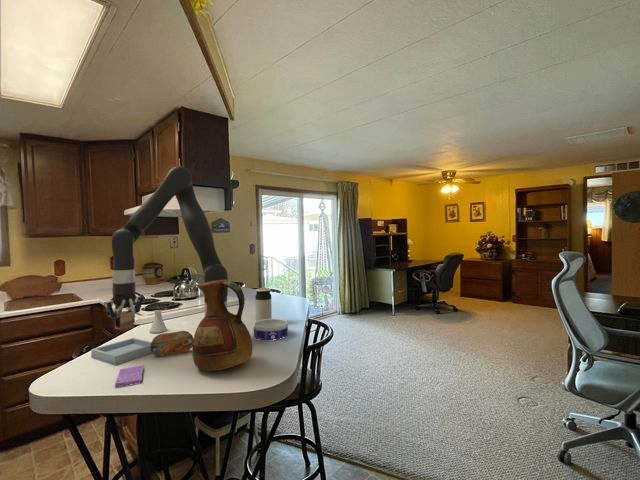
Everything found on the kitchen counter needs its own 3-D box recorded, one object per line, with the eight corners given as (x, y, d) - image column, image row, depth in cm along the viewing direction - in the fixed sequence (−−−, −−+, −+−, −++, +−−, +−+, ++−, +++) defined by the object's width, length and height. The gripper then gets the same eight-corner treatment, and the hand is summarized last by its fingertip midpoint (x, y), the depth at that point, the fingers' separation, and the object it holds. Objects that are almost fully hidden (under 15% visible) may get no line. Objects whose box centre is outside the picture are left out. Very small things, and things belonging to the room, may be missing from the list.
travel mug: (274, 323, 166) (274, 288, 166) (264, 327, 159) (263, 290, 159) (263, 321, 170) (262, 287, 170) (252, 325, 163) (252, 289, 163)
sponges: (114, 389, 96) (114, 383, 96) (120, 373, 107) (119, 368, 107) (141, 384, 99) (141, 378, 99) (144, 369, 110) (143, 364, 110)
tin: (150, 358, 119) (150, 336, 119) (150, 356, 122) (150, 333, 122) (194, 351, 126) (193, 330, 126) (193, 349, 129) (192, 328, 129)
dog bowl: (284, 329, 156) (284, 317, 155) (291, 339, 141) (291, 325, 141) (252, 333, 151) (251, 320, 151) (255, 343, 136) (255, 328, 136)
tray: (157, 351, 127) (157, 343, 127) (114, 365, 113) (114, 356, 113) (133, 344, 135) (133, 337, 135) (91, 357, 121) (91, 349, 121)
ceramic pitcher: (205, 355, 122) (204, 276, 122) (258, 355, 122) (257, 275, 121) (181, 377, 103) (180, 283, 102) (244, 377, 102) (243, 282, 102)
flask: (146, 332, 153) (145, 311, 152) (159, 328, 159) (158, 308, 159) (157, 334, 150) (157, 312, 150) (170, 330, 157) (169, 309, 156)
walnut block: (133, 327, 125) (133, 311, 125) (121, 330, 121) (121, 314, 121) (127, 325, 127) (126, 310, 127) (115, 328, 123) (114, 312, 123)
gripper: (109, 284, 116) (110, 332, 116) (147, 279, 129) (148, 322, 129) (98, 283, 120) (99, 329, 120) (136, 278, 132) (137, 320, 132)
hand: (124, 325), depth 124 cm, fingers closed on walnut block, 4 cm apart
